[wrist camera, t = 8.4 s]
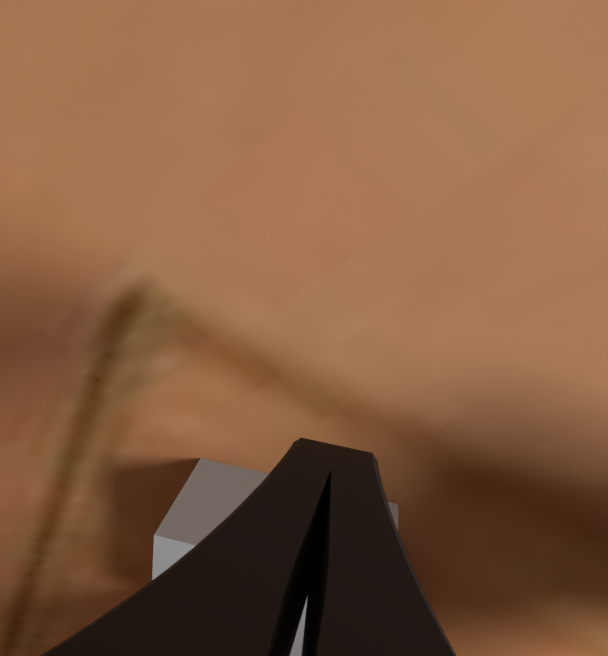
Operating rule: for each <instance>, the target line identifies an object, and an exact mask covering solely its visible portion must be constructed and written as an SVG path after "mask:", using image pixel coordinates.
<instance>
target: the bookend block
mask: <svg viewBox="0 0 608 656" xmlns="http://www.w3.org/2000/svg"><path fill="white" fill-rule="evenodd" d="M268 475H269V474H267V473H263V472H258V471H254V470H250V469H245V468H241V467H237V466H232V465H228V464H224V463H220V462H215V461H211V460H207V459H202V458H200V460H199V462H198V463H197V465H196V467H195V468H194V470H193V471H192V473H191V475H190V476H189V478H188V480H187V481H186V483H185V485H184V486H183V488H182V490H181V491H180V493H179V495H178V496H177V498H176V500H175V501H174V503H173V504H172V506H171V508H170V509H169V511H168V513H167V514H166V516H165V518H164V519H163V521H162V523H161V524H160V526H159V528H158V529H157V531H156V533H155V534H154V547H153V570H152V580H153V579H155V578H156V577H157V576H159V575H160V574H161V573H163V572H164V571H165V570H167V569H168V568H169V567H170V566H172V565H173V564H174V563H175V562H177V561H178V560H179V559H180V558H182V557H183V556H184V555H185V554H186V553H188V552H189V551H190V550H191V549H192V548H194V547H195V546H196V545H197V544H198V543H199V542H200V541H202V540H203V539H204V538H205V537H206V536H207V535H208V534H209V533H210V532H212V531H213V530H214V529H215V528H216V527H217V526H218V525H219V524H220V523H221V522H223V521H224V520H225V519H226V518H227V517H228V516H229V515H230V514H231V513H232V512H233V511H234V510H235V509H236V508H238V506H239V505H240V504H241V503H242V502H243V501H244V500H245V499H246V498H247V497H248V496H249V495H250V494H251V493H252V492H253V491H254V490H255V489H256V488H257V487H258V486H259V485H260V484H261V483H262V482H263V480H264V479H265V478H266V477H267V476H268ZM388 504H389V508H390V511H391V514H392V516H393V519H394V522H395V525H396V527H397V530H398V504H396V503H391V502H388ZM307 597H308V596H307ZM306 606H307V599H306V603H305V606H304V610H303V613H302V616H301V620H300V623H299V626H298V630H297V633H296V637H295V640H294V643H293V647H292V650H291V653H290V656H301V655H302V645H303V635H304V626H305V616H306Z"/></svg>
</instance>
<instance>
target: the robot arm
mask: <svg viewBox="0 0 608 656" xmlns="http://www.w3.org/2000/svg"><path fill="white" fill-rule="evenodd" d="M307 596H308V597H307ZM306 599H307V606H306V616H305V626H304V635H303V645H302V655H301V656H456V654H455V652H454V650H453V649H452V647H451V645H450V643H449V641H448V639H447V638H446V636H445V634H444V632H443V630H442V628H441V626H440V624H439V622H438V620H437V618H436V616H435V614H434V612H433V610H432V608H431V606H430V604H429V602H428V600H427V598H426V595H425V593H424V591H423V589H422V587H421V585H420V583H419V580H418V578H417V576H416V574H415V572H414V569H413V567H412V565H411V562H410V560H409V558H408V555H407V553H406V550H405V548H404V545H403V542H402V540H401V537H400V535H399V532H398V530H397V527H396V525H395V522H394V519H393V516H392V514H391V511H390V508H389V504H388V501H387V498H386V495H385V492H384V488H383V485H382V481H381V477H380V473H379V468H378V462H377V459H376V458H375V456H374V455H373V454H372V453H370V452H365V451H360V450H356V449H351V448H346V447H342V446H337V445H332V444H328V443H323V442H318V441H314V440H309V439H304V438H300V439H298V440H297V441H295V442H294V443H293V444H292V446H291V447H290V449H289V450H288V452H287V453H286V454H285V456H284V457H283V458H282V459H281V461H280V462H279V463H278V464H277V466H276V467H275V468H274V469H273V470H272V471H271V473H270V474H269V475H268V476H267V477H266V478H265V479H264V480H263V482H262V483H261V484H260V485H259V486H258V487H257V488H256V489H255V490H254V491H253V492H252V493H251V494H250V495H249V496H248V497H247V498H246V499H245V500H244V501H243V502H242V503H241V504H240V505H239V506H238V508H236V509H235V510H234V511H233V512H232V513H231V514H230V515H229V516H228V517H227V518H226V519H225V520H224V521H223V522H221V523H220V524H219V525H218V526H217V527H216V528H215V529H214V530H213V531H212V532H210V533H209V534H208V535H207V536H206V537H205V538H204V539H203V540H202V541H200V542H199V543H198V544H197V545H196V546H195V547H194V548H192V549H191V550H190V551H189V552H188V553H186V554H185V555H184V556H183V557H182V558H180V559H179V560H178V561H177V562H175V563H174V564H173V565H172V566H170V567H169V568H168V569H167V570H165V571H164V572H163V573H161V574H160V575H159V576H157V577H156V578H155V579H153V580H152V581H151V582H150V583H148V584H147V585H146V586H144V587H143V588H142V589H140V590H139V591H137V592H136V593H135V594H133V595H132V596H130V597H129V598H127V599H126V600H125V601H123V602H122V603H120V604H119V605H117V606H116V607H114V608H113V609H111V610H110V611H109V612H107V613H106V614H104V615H103V616H101V617H100V618H98V619H97V620H95V621H94V622H93V623H91V624H90V625H88V626H87V627H85V628H83V629H82V630H80V631H79V632H77V633H76V634H74V635H73V636H71V637H69V638H68V639H66V640H65V641H63V642H62V643H60V644H58V645H57V646H55V647H53V648H52V649H50V650H48V651H47V652H45V653H43V654H41V655H40V656H290V653H291V650H292V647H293V643H294V640H295V637H296V633H297V630H298V626H299V623H300V620H301V616H302V613H303V610H304V606H305V603H306Z"/></svg>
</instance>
